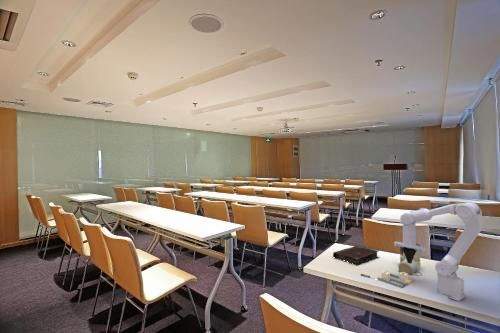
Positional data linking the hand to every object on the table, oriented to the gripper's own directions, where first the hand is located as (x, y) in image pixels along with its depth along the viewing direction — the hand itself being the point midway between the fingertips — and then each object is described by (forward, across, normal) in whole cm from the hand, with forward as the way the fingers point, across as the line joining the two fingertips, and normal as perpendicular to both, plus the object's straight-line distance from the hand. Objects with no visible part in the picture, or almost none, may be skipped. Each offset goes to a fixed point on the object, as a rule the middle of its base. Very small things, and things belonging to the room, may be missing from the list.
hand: (409, 262), depth 133 cm
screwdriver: (+10, +14, +14) cm, 22 cm away
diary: (+11, +38, -12) cm, 41 cm away
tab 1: (+9, +7, +10) cm, 15 cm away
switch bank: (+10, +4, +8) cm, 13 cm away
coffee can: (+10, +9, -21) cm, 25 cm away
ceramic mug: (+10, +5, -11) cm, 16 cm away
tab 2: (+9, +1, +4) cm, 10 cm away
